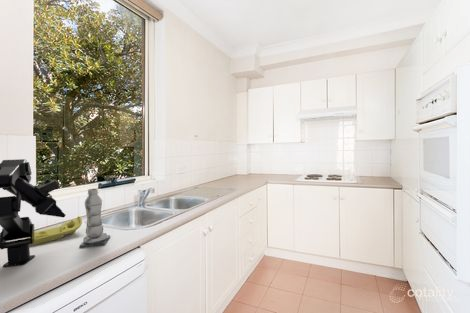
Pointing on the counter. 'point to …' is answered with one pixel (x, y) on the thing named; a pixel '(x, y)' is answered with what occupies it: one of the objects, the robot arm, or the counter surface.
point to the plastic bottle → (93, 214)
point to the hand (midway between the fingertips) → (62, 213)
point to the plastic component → (57, 231)
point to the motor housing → (95, 241)
